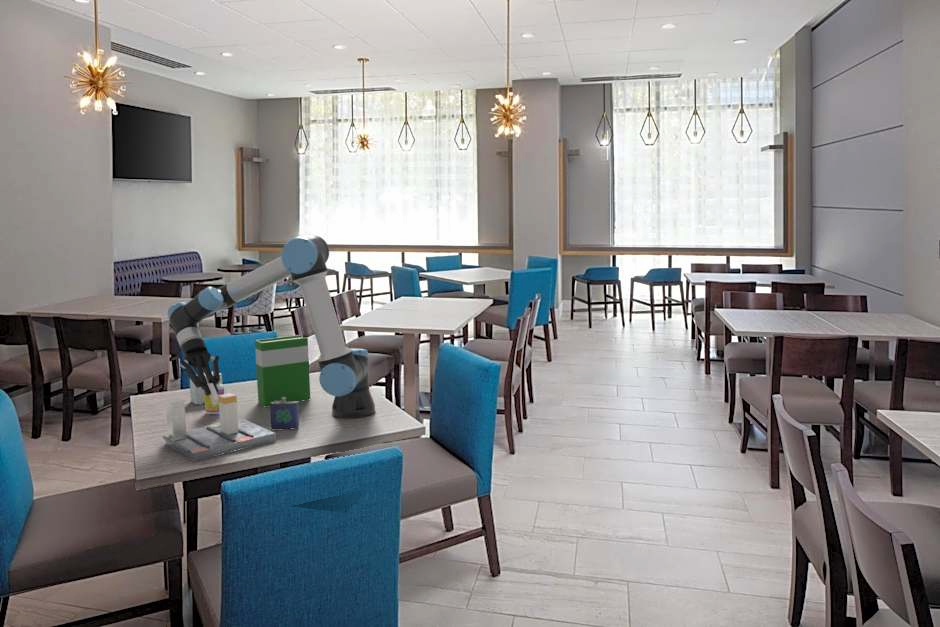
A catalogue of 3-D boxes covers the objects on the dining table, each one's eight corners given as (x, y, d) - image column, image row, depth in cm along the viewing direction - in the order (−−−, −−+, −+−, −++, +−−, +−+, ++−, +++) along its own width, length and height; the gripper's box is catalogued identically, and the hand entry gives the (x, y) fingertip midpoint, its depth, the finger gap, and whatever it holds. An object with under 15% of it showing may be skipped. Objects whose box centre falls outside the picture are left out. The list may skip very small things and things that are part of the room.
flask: (299, 426, 246) (298, 395, 244) (298, 429, 243) (296, 397, 241) (271, 427, 245) (269, 396, 243) (270, 430, 242) (268, 399, 240)
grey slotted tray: (160, 444, 229) (157, 399, 227) (242, 425, 247) (240, 383, 245) (191, 462, 212) (187, 414, 210) (276, 441, 231) (274, 396, 228)
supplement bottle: (219, 415, 259) (216, 380, 257) (202, 415, 260) (199, 379, 258) (229, 410, 265) (226, 376, 264) (212, 409, 267) (210, 375, 265)
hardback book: (303, 395, 285) (300, 334, 282) (310, 399, 279) (307, 337, 275) (258, 402, 275) (254, 340, 272) (264, 407, 269) (261, 343, 266)
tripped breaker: (220, 432, 232) (218, 395, 230) (232, 429, 235) (230, 392, 233) (226, 435, 229) (223, 397, 227) (238, 432, 232) (236, 395, 230)
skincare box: (196, 405, 273) (195, 377, 272) (190, 401, 278) (188, 374, 276) (224, 400, 280) (222, 373, 278) (217, 396, 285) (215, 370, 283)
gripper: (208, 347, 251) (232, 404, 242) (169, 353, 243) (193, 412, 233) (213, 334, 247) (238, 392, 237) (175, 339, 238) (199, 399, 229)
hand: (216, 402), depth 235 cm, fingers closed
